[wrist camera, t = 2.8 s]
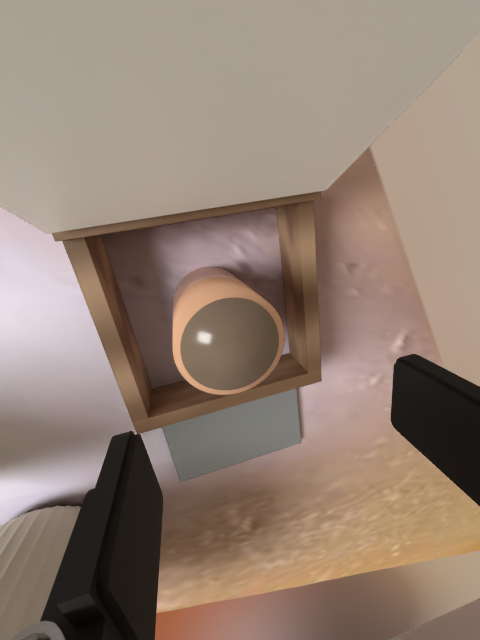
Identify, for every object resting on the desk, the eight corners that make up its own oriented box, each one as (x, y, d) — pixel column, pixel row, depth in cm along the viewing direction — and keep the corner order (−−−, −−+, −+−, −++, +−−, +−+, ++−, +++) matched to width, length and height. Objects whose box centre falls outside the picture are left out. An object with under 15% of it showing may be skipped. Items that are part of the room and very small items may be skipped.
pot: (164, 274, 21) (158, 305, 13) (240, 260, 22) (280, 279, 14) (182, 344, 24) (187, 408, 15) (250, 328, 25) (289, 380, 16)
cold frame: (77, 220, 19) (45, 218, 14) (288, 189, 21) (320, 178, 17) (142, 403, 24) (135, 443, 20) (301, 360, 27) (327, 387, 23)
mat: (155, 403, 25) (155, 407, 24) (292, 366, 27) (294, 369, 27) (180, 477, 28) (180, 482, 28) (298, 438, 31) (301, 442, 30)
